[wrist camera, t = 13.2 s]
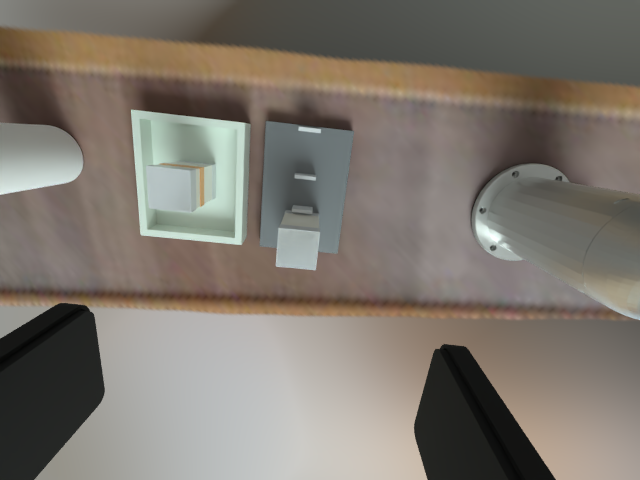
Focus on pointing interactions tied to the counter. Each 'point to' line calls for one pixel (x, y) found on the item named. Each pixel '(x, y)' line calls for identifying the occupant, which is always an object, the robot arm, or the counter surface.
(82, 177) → the counter surface
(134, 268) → the counter surface
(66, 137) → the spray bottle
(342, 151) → the block
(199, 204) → the block
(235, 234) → the tray
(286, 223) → the block
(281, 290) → the counter surface
